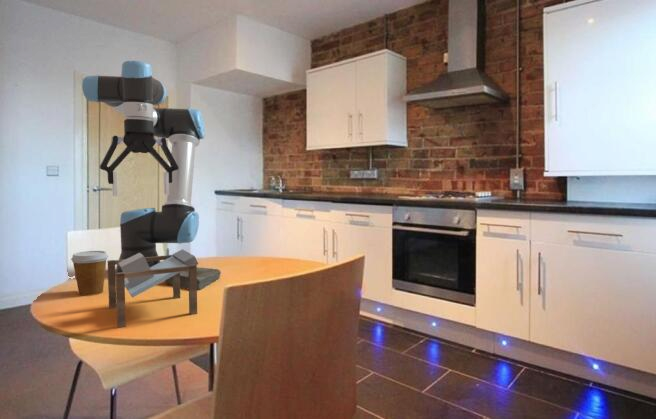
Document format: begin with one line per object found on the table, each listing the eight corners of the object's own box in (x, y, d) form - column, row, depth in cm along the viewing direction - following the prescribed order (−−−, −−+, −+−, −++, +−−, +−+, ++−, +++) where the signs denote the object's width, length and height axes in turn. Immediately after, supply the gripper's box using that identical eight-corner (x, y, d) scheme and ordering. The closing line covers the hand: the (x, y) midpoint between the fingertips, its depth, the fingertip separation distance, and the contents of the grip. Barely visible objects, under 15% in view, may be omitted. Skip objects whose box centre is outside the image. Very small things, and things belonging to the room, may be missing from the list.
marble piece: (199, 291, 125) (199, 278, 125) (157, 288, 128) (157, 275, 128) (224, 278, 141) (224, 266, 141) (186, 276, 144) (186, 264, 144)
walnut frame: (109, 306, 108) (107, 260, 107) (178, 296, 118) (178, 253, 118) (118, 327, 93) (116, 274, 92) (197, 313, 104) (196, 265, 103)
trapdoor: (124, 286, 109) (120, 279, 108) (184, 255, 117) (181, 248, 116) (134, 300, 96) (129, 292, 96) (200, 265, 105) (196, 257, 104)
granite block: (129, 282, 105) (118, 262, 103) (150, 272, 107) (139, 252, 106) (132, 287, 100) (121, 267, 98) (154, 276, 103) (143, 256, 101)
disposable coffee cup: (76, 290, 124) (74, 251, 123) (111, 287, 127) (109, 249, 127) (69, 298, 115) (67, 257, 114) (106, 295, 119) (105, 255, 118)
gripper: (88, 114, 103) (92, 197, 105) (188, 121, 117) (189, 194, 119) (85, 117, 109) (90, 195, 111) (180, 123, 123) (182, 192, 125)
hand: (141, 195), depth 115 cm, fingers open, 13 cm apart
